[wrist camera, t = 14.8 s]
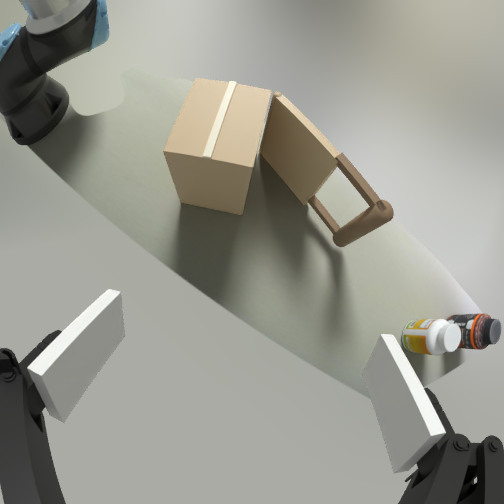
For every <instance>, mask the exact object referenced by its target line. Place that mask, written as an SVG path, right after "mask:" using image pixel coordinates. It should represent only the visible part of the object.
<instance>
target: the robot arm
mask: <svg viewBox="0 0 504 504" xmlns="http://www.w3.org/2000/svg"><path fill="white" fill-rule="evenodd" d="M19 1H20V2H21V4H22V5H23V6H24V8H25V10H26V11H27V12H28V14H29V16H28V18H27V21H26V25H25V26H24V27H22V25H21V24H19V23H15V24H13V25H11V26H9V27H8V28H7V29H5V30H4V31H3V32H2V33H1V34H0V112H1V113H2V114H3V116H4V117H5V120H6V123H7V126H8V129H9V132H10V134H11V136H12V138H13V139H14V140H15V141H16V142H17V143H18V144H20V145H29V144H32V143H34V142H36V141H38V140H39V139H41V138H42V137H44V136H45V135H46V134H47V133H49V132H50V131H51V130H52V129H53V128H54V127H55V125H56V124H57V123H58V122H59V121H60V119H61V118H62V116H63V115H64V113H65V111H66V109H67V107H68V103H69V95H68V93H67V91H66V89H65V88H64V86H62V85H61V84H60V83H58V82H57V81H55V80H54V79H53V78H51V77H50V76H48V75H47V74H46V72H48V71H50V70H52V69H54V68H55V67H57V66H59V65H61V64H63V63H65V62H67V61H69V60H71V59H73V58H75V57H77V56H79V55H82V54H84V53H86V52H89V51H91V50H92V49H94V48H96V47H98V46H100V45H102V44H103V43H105V42H106V41H107V40H108V38H109V24H108V16H107V6H106V0H19ZM124 337H125V331H124V322H123V311H122V298H121V292H119V291H115V290H111V289H108V290H107V291H106V292H105V293H103V294H102V295H101V296H100V297H99V298H98V299H97V300H96V301H95V302H93V303H92V304H91V305H90V306H89V307H88V308H87V309H86V310H85V311H84V312H83V313H82V314H81V315H79V316H78V317H77V318H76V319H75V320H74V321H73V322H72V323H71V324H70V325H69V326H68V327H67V328H66V329H65V330H64V331H63V332H62V331H60V330H57V331H55V332H53V333H51V334H49V335H48V336H47V337H46V338H45V339H43V341H42V343H39V344H38V345H37V347H35V348H34V349H33V350H32V351H31V352H30V353H29V354H28V355H27V356H26V357H25V358H24V359H23V360H22V361H21V362H20V363H19V364H18V361H17V359H16V356H15V354H14V353H13V352H12V351H11V350H9V349H7V348H1V349H0V485H1V490H2V495H3V499H4V504H66V503H65V500H64V497H63V494H62V491H61V488H60V485H59V482H58V479H57V475H56V472H55V468H54V464H53V460H52V456H51V452H50V448H49V443H48V438H47V433H46V427H45V421H44V416H43V413H42V410H43V409H44V408H45V407H46V409H47V411H48V412H49V414H50V415H51V416H53V417H54V418H56V419H58V420H60V421H62V422H63V423H64V422H65V420H66V419H67V417H68V416H69V414H70V412H71V411H72V410H73V408H74V407H75V405H76V404H77V402H78V401H79V399H80V398H81V397H82V395H83V394H84V392H85V391H86V389H87V388H88V386H89V385H90V384H91V382H92V381H93V379H94V378H95V376H96V375H97V373H98V372H99V371H100V369H101V368H102V367H103V365H104V364H105V362H106V361H107V360H108V358H109V357H110V356H111V354H112V353H113V352H114V350H115V349H116V347H117V346H118V345H119V343H120V342H121V341H122V339H123V338H124ZM362 375H363V378H364V381H365V383H366V386H367V389H368V392H369V395H370V398H371V401H372V404H373V407H374V409H375V412H376V416H377V419H378V422H379V425H380V428H381V431H382V435H383V438H384V441H385V444H386V448H387V451H388V454H389V458H390V461H391V465H392V468H393V472H394V473H398V472H403V471H408V470H409V469H411V467H413V466H414V465H415V464H416V463H417V466H418V469H417V470H416V471H415V472H414V473H412V474H411V475H410V476H409V477H408V478H407V479H406V480H405V482H407V481H408V480H410V479H411V481H410V483H409V485H408V486H407V489H406V490H405V492H404V494H403V496H402V498H401V500H400V502H399V503H398V504H504V449H503V445H502V442H501V441H500V439H499V438H497V437H495V436H488V437H486V438H485V439H484V440H483V441H482V442H481V443H470V441H469V440H468V438H467V437H465V436H464V435H462V434H455V432H454V430H453V429H452V427H451V424H450V422H449V421H448V419H447V417H446V415H445V413H444V411H442V407H441V405H439V402H438V400H437V398H436V396H435V395H434V394H433V393H432V392H431V391H430V390H429V389H428V388H423V386H422V384H421V383H420V381H419V379H418V377H417V375H416V374H415V372H414V370H413V368H412V366H411V365H410V363H409V361H408V359H407V358H406V356H405V354H404V353H403V351H402V349H401V347H400V346H399V344H398V342H397V341H396V339H395V337H394V336H393V335H387V334H380V337H379V339H378V341H377V344H376V346H375V348H374V350H373V352H372V355H371V357H370V359H369V361H368V363H367V365H366V367H365V369H364V371H363V373H362ZM476 477H477V483H475V484H474V479H475V478H476Z"/></svg>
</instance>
